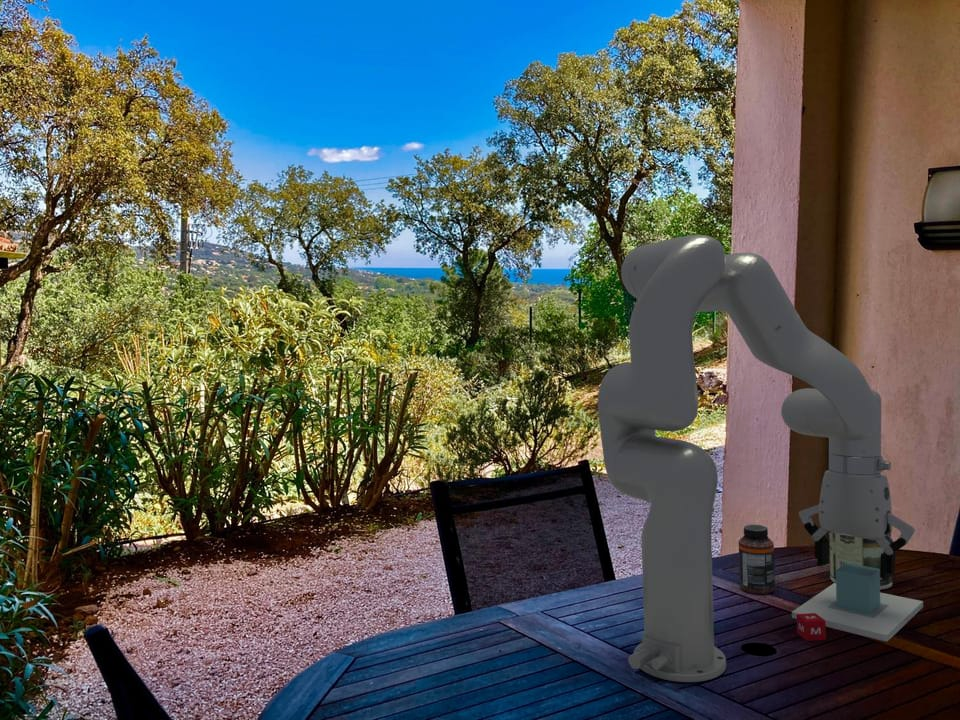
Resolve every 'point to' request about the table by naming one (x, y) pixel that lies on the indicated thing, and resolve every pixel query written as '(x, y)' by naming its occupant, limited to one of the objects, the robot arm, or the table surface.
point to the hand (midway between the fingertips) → (853, 570)
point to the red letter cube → (811, 627)
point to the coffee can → (855, 555)
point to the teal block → (858, 588)
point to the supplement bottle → (756, 560)
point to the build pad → (863, 614)
